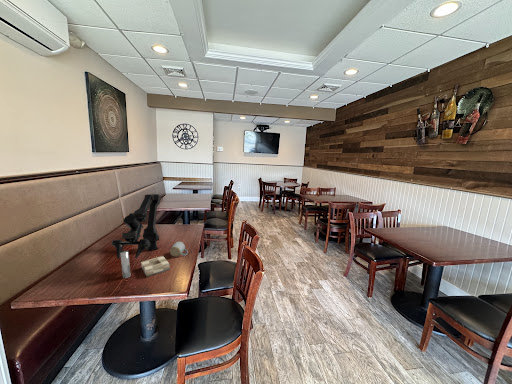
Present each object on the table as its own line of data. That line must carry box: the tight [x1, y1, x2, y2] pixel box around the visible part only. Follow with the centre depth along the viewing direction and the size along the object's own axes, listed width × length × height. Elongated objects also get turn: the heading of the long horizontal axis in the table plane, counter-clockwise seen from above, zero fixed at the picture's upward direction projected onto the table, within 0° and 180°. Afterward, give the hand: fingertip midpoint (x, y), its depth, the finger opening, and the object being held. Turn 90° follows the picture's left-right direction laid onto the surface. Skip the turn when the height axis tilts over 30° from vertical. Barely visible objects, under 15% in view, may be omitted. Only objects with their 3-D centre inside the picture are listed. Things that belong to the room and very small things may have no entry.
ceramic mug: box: [169, 240, 189, 258], centre depth 138 cm, size 11×8×8 cm
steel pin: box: [120, 250, 132, 279], centre depth 111 cm, size 4×4×14 cm
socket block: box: [140, 255, 171, 278], centre depth 120 cm, size 12×12×4 cm
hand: (126, 258), depth 113 cm, fingers open, 9 cm apart
